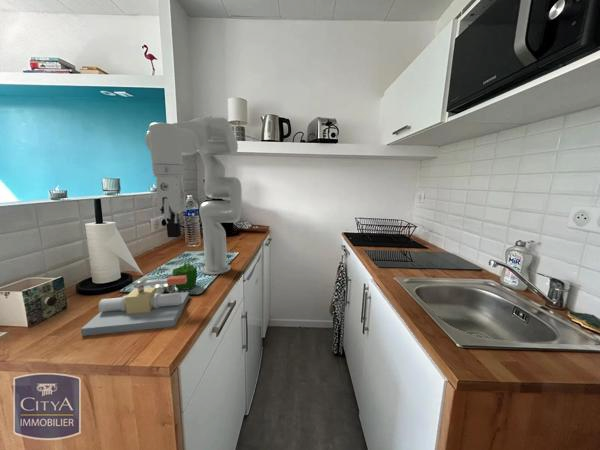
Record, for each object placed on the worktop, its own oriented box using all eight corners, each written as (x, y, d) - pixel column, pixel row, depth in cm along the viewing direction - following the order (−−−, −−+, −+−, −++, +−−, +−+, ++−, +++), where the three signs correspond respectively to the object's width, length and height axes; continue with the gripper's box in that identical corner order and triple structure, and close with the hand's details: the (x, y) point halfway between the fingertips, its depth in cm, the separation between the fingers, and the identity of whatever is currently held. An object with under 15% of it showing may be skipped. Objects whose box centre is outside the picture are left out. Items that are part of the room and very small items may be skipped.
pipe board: (117, 303, 81) (114, 283, 80) (189, 297, 86) (187, 278, 84) (82, 335, 64) (78, 310, 62) (174, 326, 68) (172, 302, 67)
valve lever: (132, 294, 71) (131, 283, 71) (136, 289, 74) (135, 279, 74) (185, 288, 75) (185, 278, 75) (187, 284, 78) (186, 274, 78)
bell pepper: (171, 287, 94) (169, 262, 92) (193, 281, 99) (191, 257, 98) (177, 294, 88) (175, 267, 86) (201, 288, 93) (199, 262, 92)
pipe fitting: (160, 298, 86) (175, 289, 92) (158, 288, 85) (174, 280, 91) (143, 295, 88) (159, 286, 95) (141, 285, 88) (157, 277, 94)
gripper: (175, 171, 61) (182, 242, 65) (189, 172, 76) (193, 230, 79) (142, 170, 60) (150, 244, 63) (162, 172, 74) (168, 231, 78)
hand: (174, 236), depth 71 cm, fingers closed
